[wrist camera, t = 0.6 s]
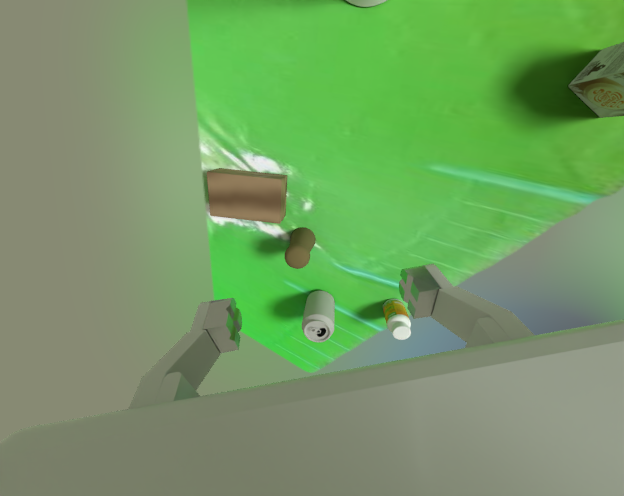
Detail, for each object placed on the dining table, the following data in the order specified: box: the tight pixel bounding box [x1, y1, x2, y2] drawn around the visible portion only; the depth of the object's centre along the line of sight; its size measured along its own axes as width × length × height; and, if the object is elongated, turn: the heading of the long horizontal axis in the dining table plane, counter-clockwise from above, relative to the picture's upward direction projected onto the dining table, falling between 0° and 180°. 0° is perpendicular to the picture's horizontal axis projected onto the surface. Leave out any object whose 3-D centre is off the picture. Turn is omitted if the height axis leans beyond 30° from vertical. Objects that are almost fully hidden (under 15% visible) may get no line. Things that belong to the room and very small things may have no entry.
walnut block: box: [207, 168, 287, 223], centre depth 53 cm, size 9×15×6 cm, turn 85°
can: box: [302, 291, 335, 342], centre depth 61 cm, size 8×8×12 cm
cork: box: [285, 228, 315, 269], centre depth 54 cm, size 6×6×11 cm
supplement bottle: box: [383, 299, 411, 340], centre depth 60 cm, size 5×5×10 cm
